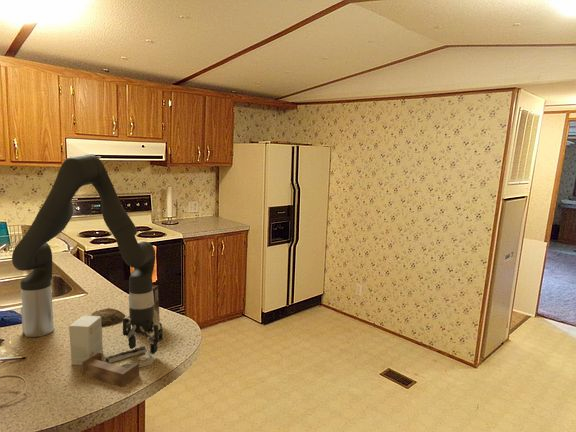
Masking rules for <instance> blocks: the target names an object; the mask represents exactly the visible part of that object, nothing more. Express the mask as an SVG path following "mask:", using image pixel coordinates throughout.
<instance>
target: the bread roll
mask: <svg viewBox="0 0 576 432" xmlns="http://www.w3.org/2000/svg"><path fill="white" fill-rule="evenodd" d="M89 316H101V324H102V327H106V325H107V326H112V325H115V324H118V322H119V323H121V322H123V319H124V318H125V316H126V314H125V313H124V312H122V311H120V310H118V309H115V308H114V309H113V308H110V307H108V308H104V309H99V310H95V311H93V312H92V313H91V314H90V315H89ZM114 323H115V324H114ZM111 324H112V325H111Z"/></svg>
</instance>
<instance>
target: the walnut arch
mask: <svg viewBox="0 0 576 432" xmlns="http://www.w3.org/2000/svg"><path fill="white" fill-rule="evenodd" d="M121 366H122V365H118V364H117V365H116V364H113V363H112V362H111V363H107V362H105V361H103V353H98V354H96V355H94V356H93V357H91V358H89V359H87V360H85V361H84V362H82V365H81V368H82V369H81V370H82V375H83V376H86V377H87V378H92V379H95V380H99V381H102V382H105V383H108V384H112V385H114V386H119V387H122V388H125V387H126V386H127V385H128V384H130V383H132V382H133V381H134V380H136V379H137V378H139V377H140V367H139V363H135V364H134V365H132V366H131V367H129V368H125V367H121Z"/></svg>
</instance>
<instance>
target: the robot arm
mask: <svg viewBox="0 0 576 432" xmlns="http://www.w3.org/2000/svg"><path fill="white" fill-rule="evenodd" d="M86 185H87V186H88V185H92V186H93V188H94V189H95V191H96V192H97V193H98V196H99V199H100V204H101V212H102V213H101V214H102V218H103V221H104V223H105V225H106V227H107V228H108V230H109V231H110V233H111V234H112V235H113V237H114V239H115V240H116V241H115V242H116V244H117V247H118V250H119V253H120V255H121V258H122V260H123V262H125V264H126V265H127V266H129V267H131V268H133V271H132V273H131V274H130V275H129V279H128V287H129V290H128V291H129V293H128V294H129V296H128V307H129V309H128V311H129V315H128V316H126V317H124V318H123V320H122V335H123V336H126V338H127V340H128V347H129V349H130V350H133V349H135V348H137V347H136V346H137V340H136V339H137V338H136V336H135V335H141V336H144V337H145V338H146V339H148V341H149V342H150V343H149V348H150V349H149V350H150V352H149V354H150V355H154V354H156V353H157V352H158V343H161V342H162V341H163V339H164V337H163V325H162V323H161V322H160V323H158V324H155V323H154V322H153V317H154V296H153V286H152V285H153V275H154V274H153V273H154V269H155V264H156V263H155V262H156V250H155V247H154V245H152V243H150V242H148V241H140V242H138V239H137V238H136V235H137V234H138V229H137V227H136V224H135V223H134V222H133V220H132V219H131V218H130V216H129V215H128V213H127V211H126V209H125V208H124V207H123V204H122V202H121V200H120V198H119V197H118V194H117V192H116V189H115V187H114V185H113V183H112V181H111V178H110V176H109V174H108V170H107V169H106V167H105V166H104V163H103V162H102V160H101V159H100V158H99V157H98V156H96V155H94V154H89V153H88V154H80V155H74V156H73V155H72V156H70V157H68V158H65V160H64V161H63V162H62V163H61V165H60V168H59V170H58V173H57V175H56V178H55V180H54V183H53V185H52V187H51V189H50V191H49V192H48V195H47V196H46V198H45V201H44V202H43V204H42V205H41V207H40V208H39V211H38V212H37V214H36V217H35V219H33V221H32V223H31V225H30V226H29V228H28V230H27V232H26V233H25V234H24V236H23V237H21V239H20V241H18V243H17V245H16V246H15V247H14V249H13V250H12V251H13V252H12V255H11V261H12V265H13V267H14V268H15V269H17V270H19V271H21V272H22V271H31V270H32V271H31V272H30V273H29V274H28V275H26V276H25V277H23V278H22V279H21V281H20V293H21V294H20V295H21V296H20V297H21V308H20V313H21V314H20V315H21V328H22V329H21V330H22V333H23V334H24V336H25V337H28V338H37V337H42V336H46V335H48V334H51V333H52V332H53V331H54V330H55V322H54V310H53V309H54V308H53V306H54V305H53V294H52V293H53V292H52V279H53V251H52V249H51V246H50V245H49V243H48V242H49V241H51V240H53V239H54V238H56V237H57V236H58V235H60V233H62V232H63V231H64V230H65V229H66V227H67V226H68V224H69V222H70V221H71V219H72V217H73V214H74V205H73V202H72V200H73V198H74V197H75V195H76V193H77V192H78V190H80V189H81V188H82V187H83V186H86ZM150 331H151V332H150ZM149 332H150V333H149ZM136 333H137V334H136ZM148 333H149V334H148Z"/></svg>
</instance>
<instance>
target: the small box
mask: <svg viewBox="0 0 576 432" xmlns="http://www.w3.org/2000/svg"><path fill="white" fill-rule="evenodd" d="M102 327H103V326H102V324H101V316H90V315H81V316H80V317H79V318H78V319H76V320H75V321H74V322H72V323H71V324H69V326H68V332H69V333H68V334H69V347H70V360H71V361H70V362H71V365H72V366H73V365H76V366H82V362H84V361H85V360H87V359H89V358H91V357H93V356H94V355H96V354H98V353H102V354H103V353H104V347H103V345H104V343H103V328H102Z"/></svg>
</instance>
